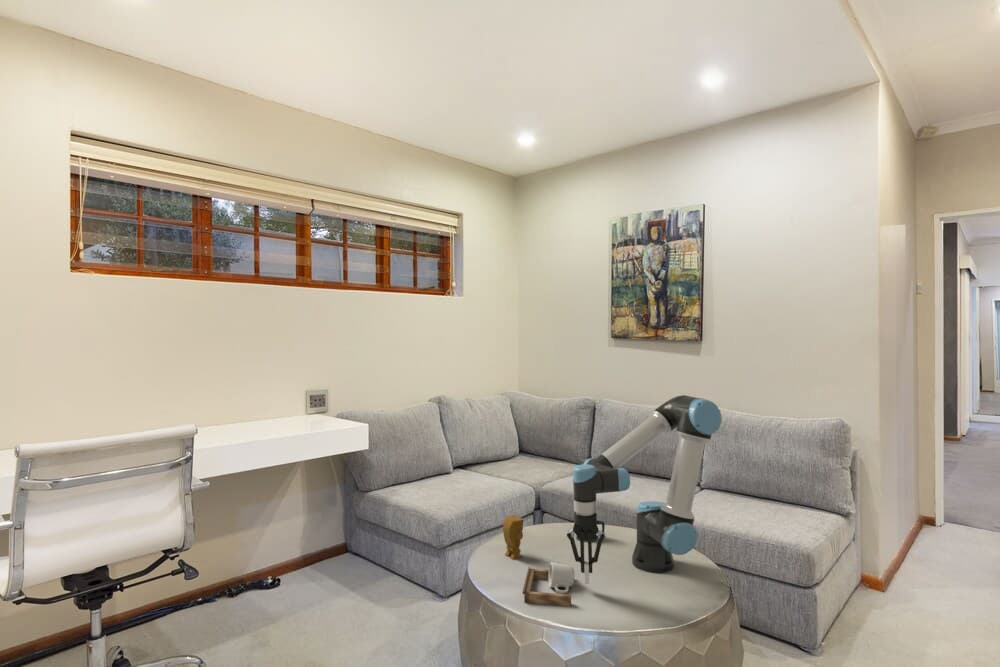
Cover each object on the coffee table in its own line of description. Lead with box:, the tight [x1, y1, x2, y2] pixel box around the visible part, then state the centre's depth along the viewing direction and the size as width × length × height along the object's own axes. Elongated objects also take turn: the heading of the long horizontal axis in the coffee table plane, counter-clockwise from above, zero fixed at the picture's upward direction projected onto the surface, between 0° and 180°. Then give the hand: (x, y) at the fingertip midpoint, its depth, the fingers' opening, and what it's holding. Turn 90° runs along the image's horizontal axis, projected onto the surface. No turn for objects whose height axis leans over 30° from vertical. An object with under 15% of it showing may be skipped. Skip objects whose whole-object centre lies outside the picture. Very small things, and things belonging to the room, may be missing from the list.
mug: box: [575, 520, 606, 543], centre depth 229 cm, size 12×9×11 cm
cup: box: [547, 561, 575, 594], centre depth 187 cm, size 11×8×8 cm
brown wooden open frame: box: [522, 566, 572, 607], centre depth 185 cm, size 16×19×4 cm
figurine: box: [502, 514, 524, 561], centre depth 213 cm, size 7×7×15 cm
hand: (586, 581), depth 183 cm, fingers closed
